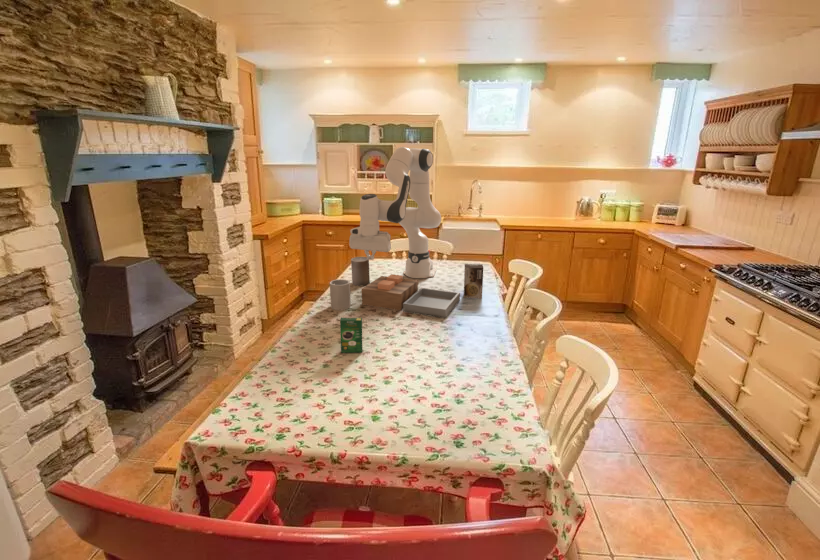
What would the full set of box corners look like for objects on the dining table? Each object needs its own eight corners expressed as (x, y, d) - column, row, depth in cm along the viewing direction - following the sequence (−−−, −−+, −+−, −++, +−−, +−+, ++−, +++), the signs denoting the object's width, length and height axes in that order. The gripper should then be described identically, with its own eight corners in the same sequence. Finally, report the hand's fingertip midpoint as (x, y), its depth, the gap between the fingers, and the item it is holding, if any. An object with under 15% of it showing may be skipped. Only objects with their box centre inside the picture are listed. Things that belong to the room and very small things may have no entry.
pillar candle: (371, 280, 237) (370, 254, 232) (368, 286, 227) (366, 259, 223) (354, 280, 238) (352, 254, 233) (350, 285, 228) (348, 258, 224)
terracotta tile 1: (383, 284, 204) (383, 279, 204) (394, 286, 202) (394, 281, 202) (377, 288, 199) (377, 283, 198) (389, 290, 197) (389, 285, 196)
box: (421, 295, 214) (421, 287, 213) (459, 300, 207) (459, 292, 206) (403, 311, 193) (403, 303, 192) (445, 318, 186) (445, 309, 185)
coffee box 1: (363, 349, 157) (362, 316, 153) (363, 353, 155) (362, 319, 151) (341, 349, 157) (339, 317, 153) (340, 353, 154) (339, 320, 150)
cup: (346, 310, 194) (345, 286, 190) (328, 309, 195) (326, 284, 192) (353, 303, 202) (352, 280, 199) (335, 302, 204) (334, 278, 200)
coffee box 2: (481, 294, 215) (483, 264, 210) (482, 299, 209) (483, 267, 204) (463, 294, 216) (464, 263, 211) (463, 298, 210) (464, 267, 205)
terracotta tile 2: (391, 279, 213) (391, 274, 213) (402, 280, 211) (402, 275, 210) (386, 282, 208) (386, 277, 207) (397, 283, 206) (397, 279, 205)
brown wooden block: (381, 290, 221) (381, 275, 218) (417, 295, 214) (417, 280, 211) (362, 304, 201) (361, 288, 199) (400, 310, 194) (400, 294, 192)
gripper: (393, 230, 195) (393, 259, 199) (353, 227, 202) (354, 255, 206) (387, 233, 189) (387, 263, 193) (347, 229, 196) (348, 258, 200)
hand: (370, 259), depth 200 cm, fingers closed
